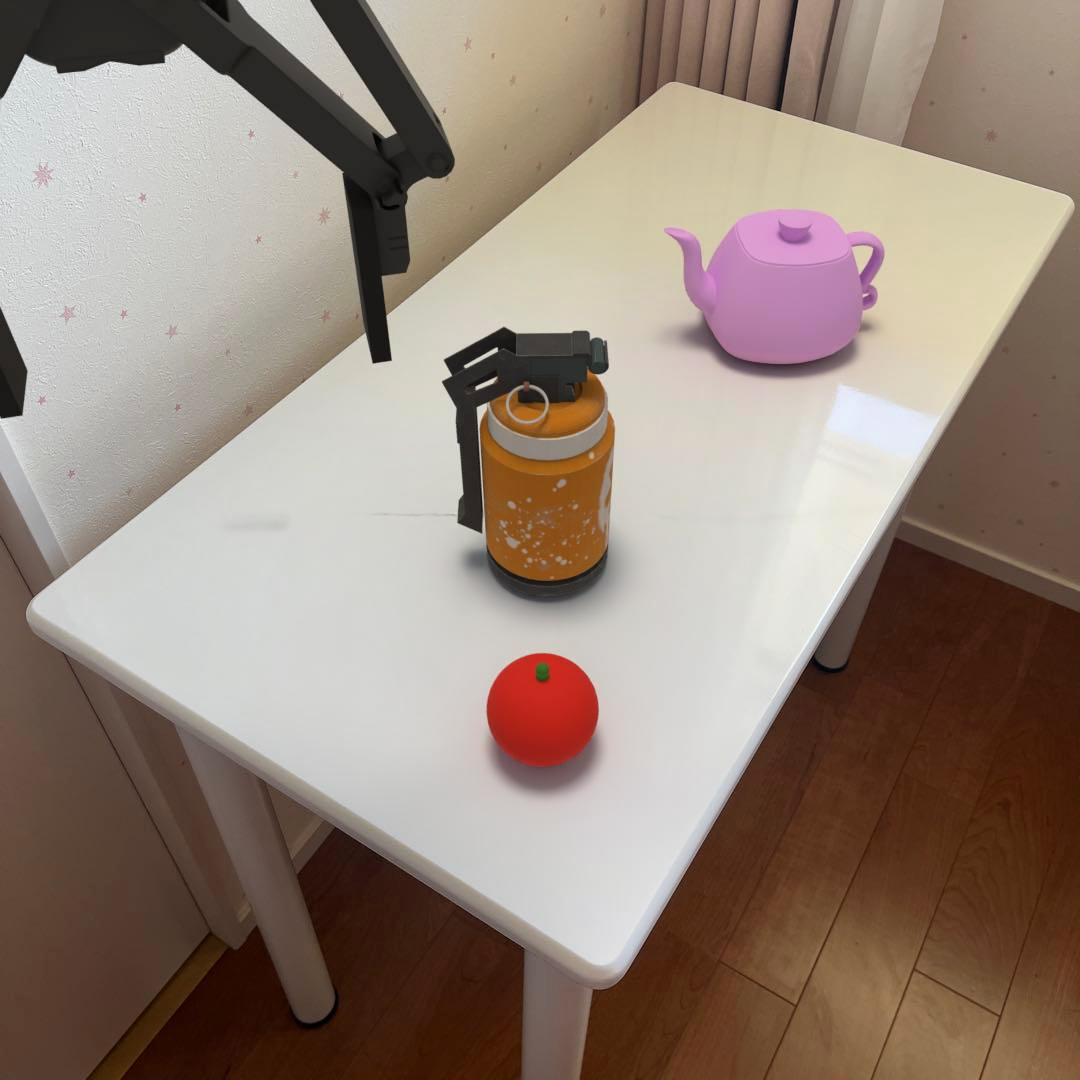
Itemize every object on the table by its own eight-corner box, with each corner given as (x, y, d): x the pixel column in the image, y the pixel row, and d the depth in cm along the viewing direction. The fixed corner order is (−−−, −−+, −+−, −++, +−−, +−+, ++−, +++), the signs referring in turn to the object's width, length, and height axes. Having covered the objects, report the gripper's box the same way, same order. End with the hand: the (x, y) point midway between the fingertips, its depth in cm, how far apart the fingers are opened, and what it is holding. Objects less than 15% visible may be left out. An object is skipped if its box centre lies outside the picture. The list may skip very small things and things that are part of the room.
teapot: (847, 284, 106) (873, 170, 97) (892, 370, 97) (926, 254, 88) (642, 298, 105) (650, 184, 96) (668, 387, 96) (680, 270, 87)
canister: (610, 602, 79) (624, 383, 64) (456, 603, 79) (435, 384, 64) (604, 512, 85) (616, 294, 71) (461, 514, 85) (443, 295, 71)
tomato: (485, 786, 69) (479, 713, 63) (491, 694, 74) (487, 618, 68) (597, 789, 69) (602, 716, 63) (596, 696, 74) (600, 620, 68)
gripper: (-662, -267, 22) (-168, 487, 38) (541, -324, 26) (540, 378, 42) (-515, -336, 27) (-132, 356, 43) (477, -376, 31) (498, 269, 47)
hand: (201, 368), depth 42 cm, fingers open, 13 cm apart
